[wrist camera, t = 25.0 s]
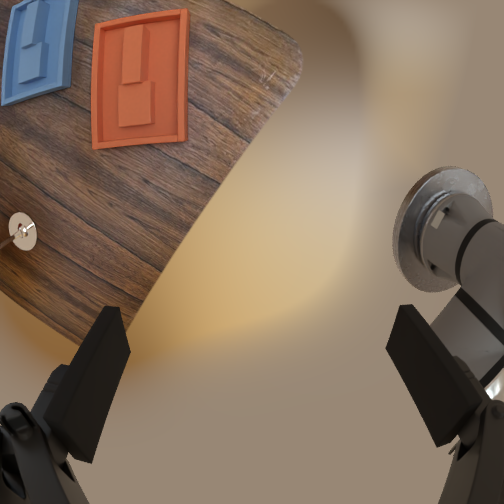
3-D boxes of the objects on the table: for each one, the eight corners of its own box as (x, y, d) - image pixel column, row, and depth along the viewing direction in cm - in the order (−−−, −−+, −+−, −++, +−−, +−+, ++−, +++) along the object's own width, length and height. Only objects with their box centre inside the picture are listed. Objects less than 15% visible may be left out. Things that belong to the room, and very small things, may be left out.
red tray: (190, 14, 27) (187, 8, 25) (187, 140, 34) (184, 141, 32) (102, 28, 27) (95, 24, 24) (100, 147, 33) (92, 149, 31)
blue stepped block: (34, 11, 23) (22, 6, 20) (55, 2, 23) (44, -4, 20) (26, 84, 28) (12, 83, 25) (46, 77, 28) (33, 75, 25)
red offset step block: (126, 35, 27) (117, 29, 24) (157, 30, 27) (150, 23, 24) (124, 126, 32) (114, 127, 29) (155, 123, 32) (147, 123, 29)
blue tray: (81, -16, 23) (74, -21, 20) (70, 87, 29) (61, 85, 27) (20, 9, 22) (12, 6, 20) (10, 105, 29) (0, 106, 27)
